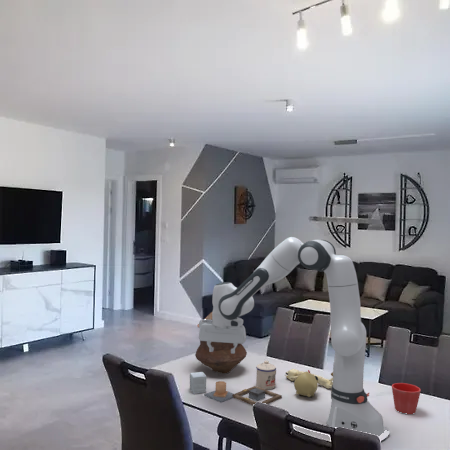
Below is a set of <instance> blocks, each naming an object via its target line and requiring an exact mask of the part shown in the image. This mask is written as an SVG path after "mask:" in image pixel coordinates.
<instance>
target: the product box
mask: <svg viewBox="0 0 450 450" xmlns="http://www.w3.org/2000/svg"><path fill="white" fill-rule="evenodd" d="M189 390H190V392H191V393H192V394H193V395H195V394H196V395H197V394H203V393H207V375H206V374H205V373H204V372H203V371H199V372H197V371H196V372H190V373H189Z"/></svg>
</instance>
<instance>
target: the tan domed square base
mask: <svg viewBox="0 0 450 450" xmlns="http://www.w3.org/2000/svg"><path fill="white" fill-rule="evenodd" d="M214 391H215V393H214V396H216V397H226V395H227V393H228V392H229V391H228V390H227V382H226V381H222V380H219V381H216V382H215V389H214Z"/></svg>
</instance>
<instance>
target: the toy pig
mask: <svg viewBox="0 0 450 450" xmlns="http://www.w3.org/2000/svg"><path fill="white" fill-rule="evenodd" d="M303 372H304V373H302V374H301V375H299V376H298V377H297V379H296V380H295V381H293V387H294V389H295V391H296V392H295V394H296V395H297V396H299V395H301V396H303V397H304V396H305V397H308V398H310V397H314V396H315V393H316V392H317V389H318V387H319V384H318V377H317V376H314V373H311V372H310V373H309V372H308V371H303Z"/></svg>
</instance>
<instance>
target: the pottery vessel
mask: <svg viewBox="0 0 450 450" xmlns="http://www.w3.org/2000/svg"><path fill="white" fill-rule="evenodd" d="M204 319H212V311H211V312H209V314H208V315H207V316H206V317H205V318H204ZM196 326H197V328H199V323H197V325H196ZM210 344H211V346H212V347H214V351H213V352H209V347H208V345H207V341H200V340H199V346H198V347H197V349H196V351H195V354H194V356H195V359H196V360H197V361H199V362H200V363H201V364H203V365H204V366H206V367H207V368H208V369H211V371H213V372H214V373H218V374H229V373H231V372H232V370H233V369H235V368H236V367H237V366H238V365H239V364H240V363H241V362H242V361H243V360H244V359H246V357H247V355H248V352H247V350H246V348H245V347H244V344H238V345H237V347H236V348H235V353H234V354H233V353H231V349H232V348H234V343H224V342H211V343H210Z"/></svg>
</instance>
